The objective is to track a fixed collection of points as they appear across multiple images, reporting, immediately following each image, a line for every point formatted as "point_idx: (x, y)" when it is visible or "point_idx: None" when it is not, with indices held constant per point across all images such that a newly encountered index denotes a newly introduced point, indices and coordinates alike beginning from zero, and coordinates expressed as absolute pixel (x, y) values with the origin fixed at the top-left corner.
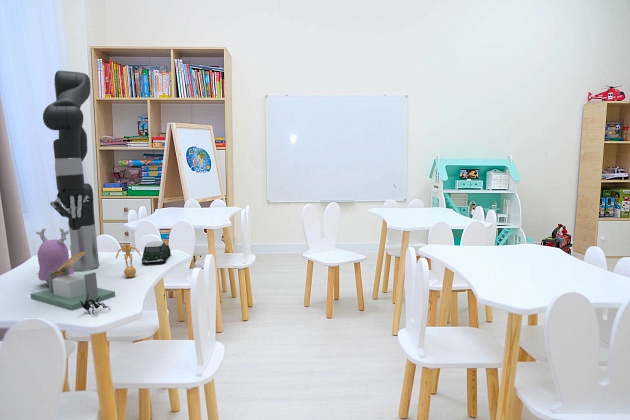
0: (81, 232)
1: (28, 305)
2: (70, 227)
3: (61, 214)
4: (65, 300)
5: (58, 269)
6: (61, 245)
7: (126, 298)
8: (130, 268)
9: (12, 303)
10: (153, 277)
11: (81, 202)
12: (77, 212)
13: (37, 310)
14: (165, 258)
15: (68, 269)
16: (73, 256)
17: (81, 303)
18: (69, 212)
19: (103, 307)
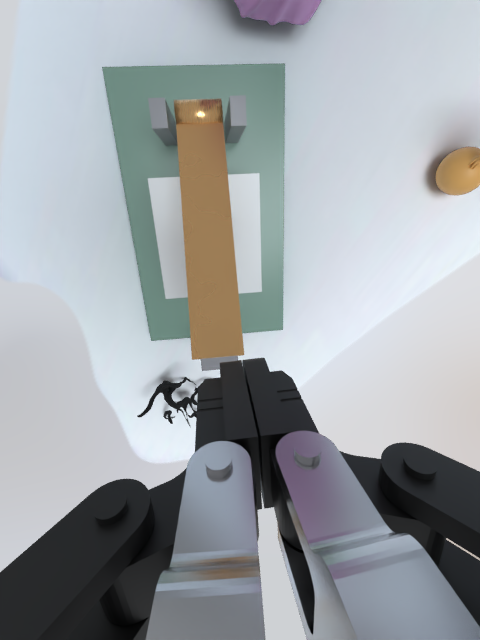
0: None
1: (77, 164)
2: (201, 395)
3: (62, 548)
4: (157, 283)
5: (179, 167)
6: None
7: (282, 363)
8: (466, 185)
9: (37, 70)
10: (461, 253)
11: None
12: (300, 595)
13: (85, 249)
14: None
15: (245, 126)
16: (190, 331)
17: (148, 404)
18: (222, 542)
19: (192, 414)
